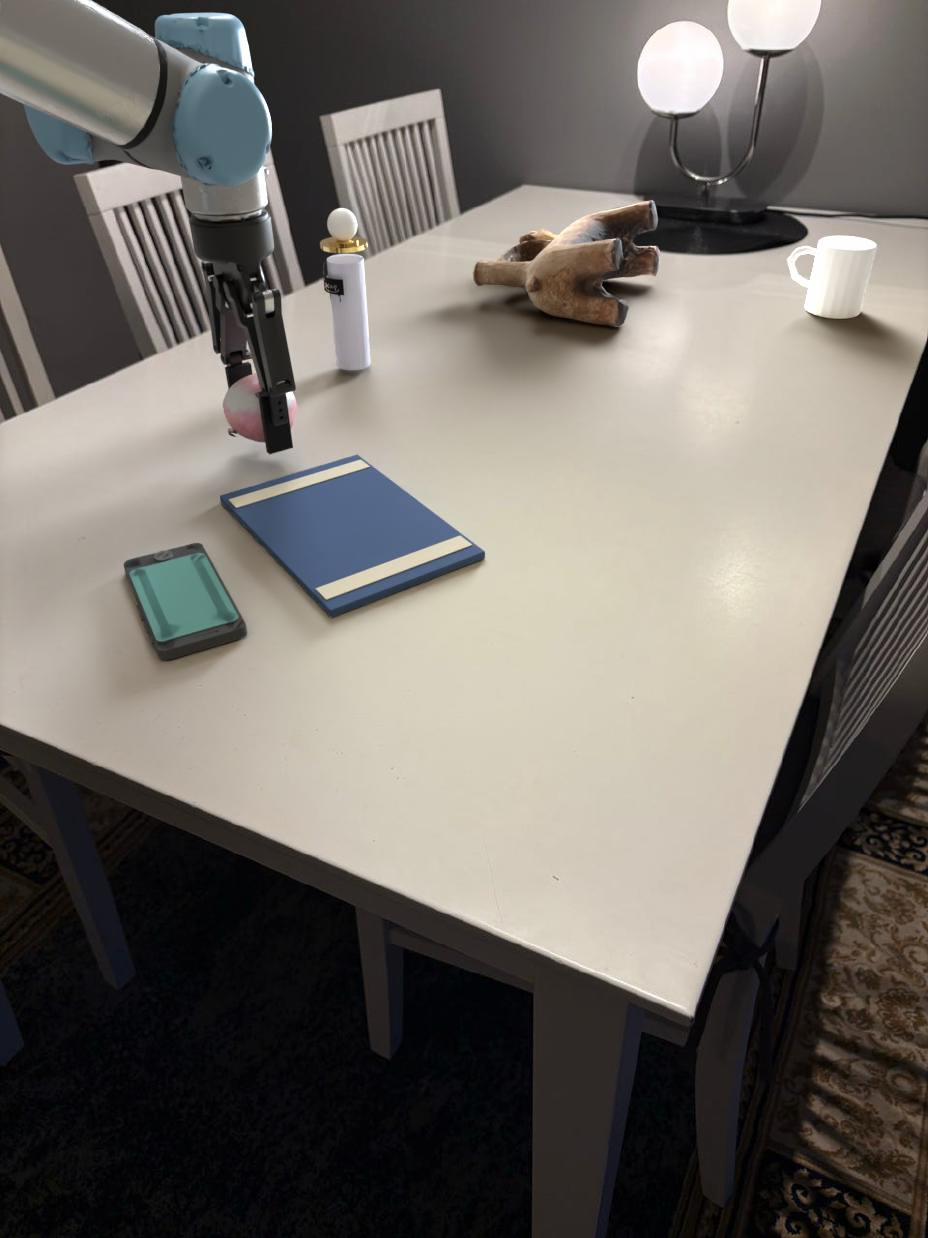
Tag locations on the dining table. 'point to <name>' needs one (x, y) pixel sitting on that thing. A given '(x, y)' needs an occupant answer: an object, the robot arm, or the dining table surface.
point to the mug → (836, 275)
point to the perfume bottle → (347, 291)
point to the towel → (349, 533)
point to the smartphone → (183, 601)
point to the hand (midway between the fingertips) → (262, 435)
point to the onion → (249, 409)
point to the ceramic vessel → (579, 264)
